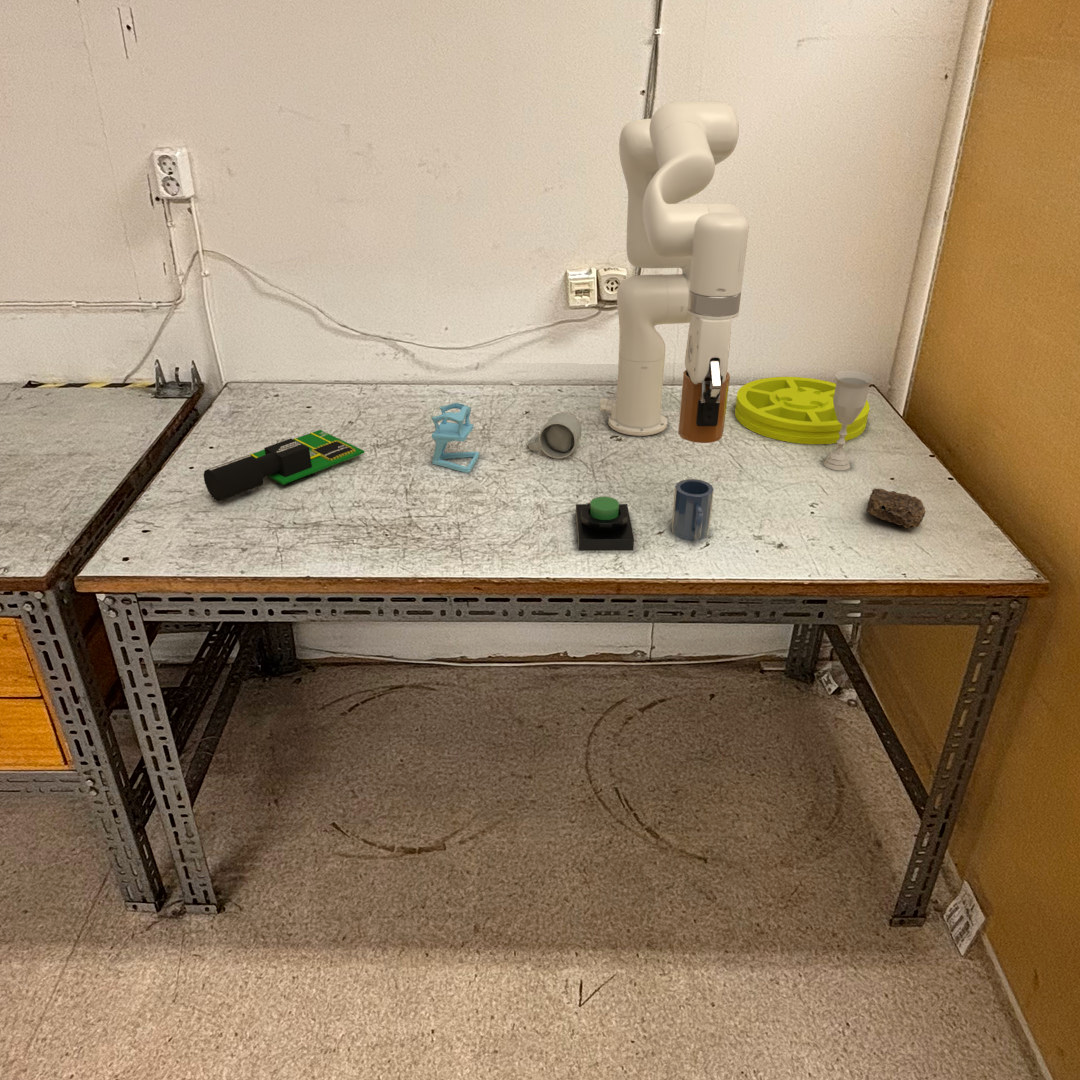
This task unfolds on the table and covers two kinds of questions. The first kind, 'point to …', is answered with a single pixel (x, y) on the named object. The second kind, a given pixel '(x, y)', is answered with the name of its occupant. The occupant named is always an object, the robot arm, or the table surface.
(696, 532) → the mug
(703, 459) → the table surface
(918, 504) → the concrete sample
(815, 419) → the pulley
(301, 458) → the circuit board with cylinder
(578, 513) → the button box
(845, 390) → the chalice
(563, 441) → the ceramic mug
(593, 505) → the button
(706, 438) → the glass
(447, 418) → the chair
